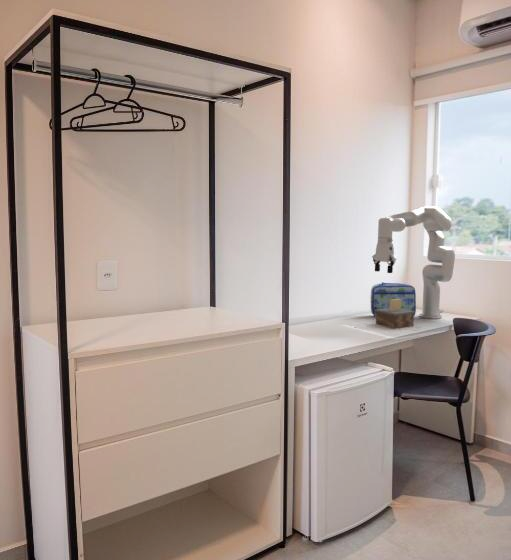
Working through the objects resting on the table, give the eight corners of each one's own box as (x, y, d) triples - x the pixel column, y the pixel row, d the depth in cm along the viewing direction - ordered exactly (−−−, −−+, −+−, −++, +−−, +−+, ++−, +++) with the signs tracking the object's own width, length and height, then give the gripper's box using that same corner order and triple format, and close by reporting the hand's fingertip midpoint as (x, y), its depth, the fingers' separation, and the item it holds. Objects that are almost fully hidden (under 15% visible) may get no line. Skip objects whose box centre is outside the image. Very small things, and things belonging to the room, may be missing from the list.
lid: (394, 309, 297) (395, 296, 296) (415, 313, 284) (415, 300, 283) (375, 311, 289) (375, 298, 288) (395, 315, 276) (396, 302, 275)
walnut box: (394, 323, 297) (394, 309, 296) (413, 327, 285) (414, 313, 284) (376, 325, 290) (376, 311, 289) (395, 330, 278) (395, 315, 277)
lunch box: (370, 318, 310) (372, 283, 308) (368, 315, 321) (370, 281, 318) (416, 319, 308) (417, 284, 305) (412, 316, 318) (414, 282, 316)
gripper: (401, 241, 281) (400, 273, 283) (378, 240, 295) (377, 270, 297) (391, 241, 277) (389, 273, 279) (368, 240, 292) (367, 270, 294)
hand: (383, 272), depth 288 cm, fingers open, 9 cm apart
